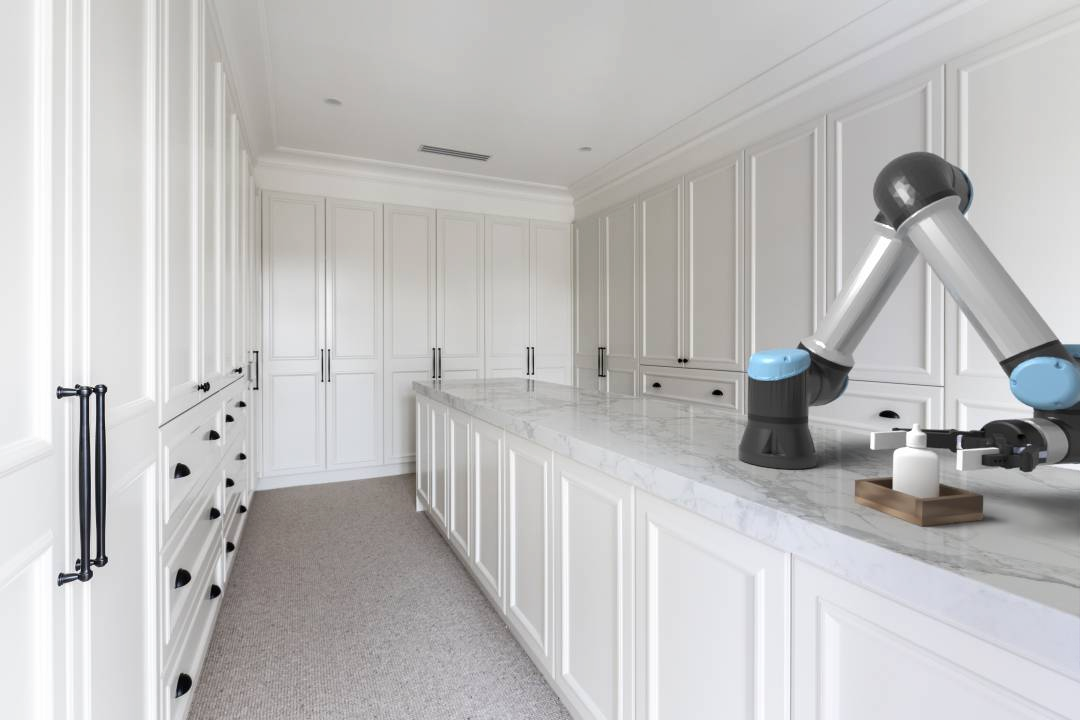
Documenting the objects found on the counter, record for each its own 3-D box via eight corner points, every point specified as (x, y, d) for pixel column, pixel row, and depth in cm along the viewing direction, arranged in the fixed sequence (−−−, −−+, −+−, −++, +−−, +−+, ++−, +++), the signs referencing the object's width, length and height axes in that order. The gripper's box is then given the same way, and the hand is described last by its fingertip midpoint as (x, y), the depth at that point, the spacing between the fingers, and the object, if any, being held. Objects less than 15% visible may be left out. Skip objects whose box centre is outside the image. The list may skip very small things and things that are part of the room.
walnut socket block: (854, 501, 81) (855, 479, 81) (909, 496, 84) (910, 475, 84) (921, 526, 70) (922, 501, 70) (982, 519, 73) (983, 495, 73)
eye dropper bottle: (903, 495, 81) (905, 419, 80) (944, 506, 75) (946, 425, 75) (886, 500, 79) (888, 422, 78) (927, 511, 74) (929, 428, 73)
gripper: (1124, 488, 69) (1005, 500, 64) (940, 449, 93) (843, 456, 88) (1126, 433, 69) (1007, 440, 64) (941, 409, 93) (844, 413, 88)
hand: (912, 449), depth 76 cm, fingers open, 13 cm apart
